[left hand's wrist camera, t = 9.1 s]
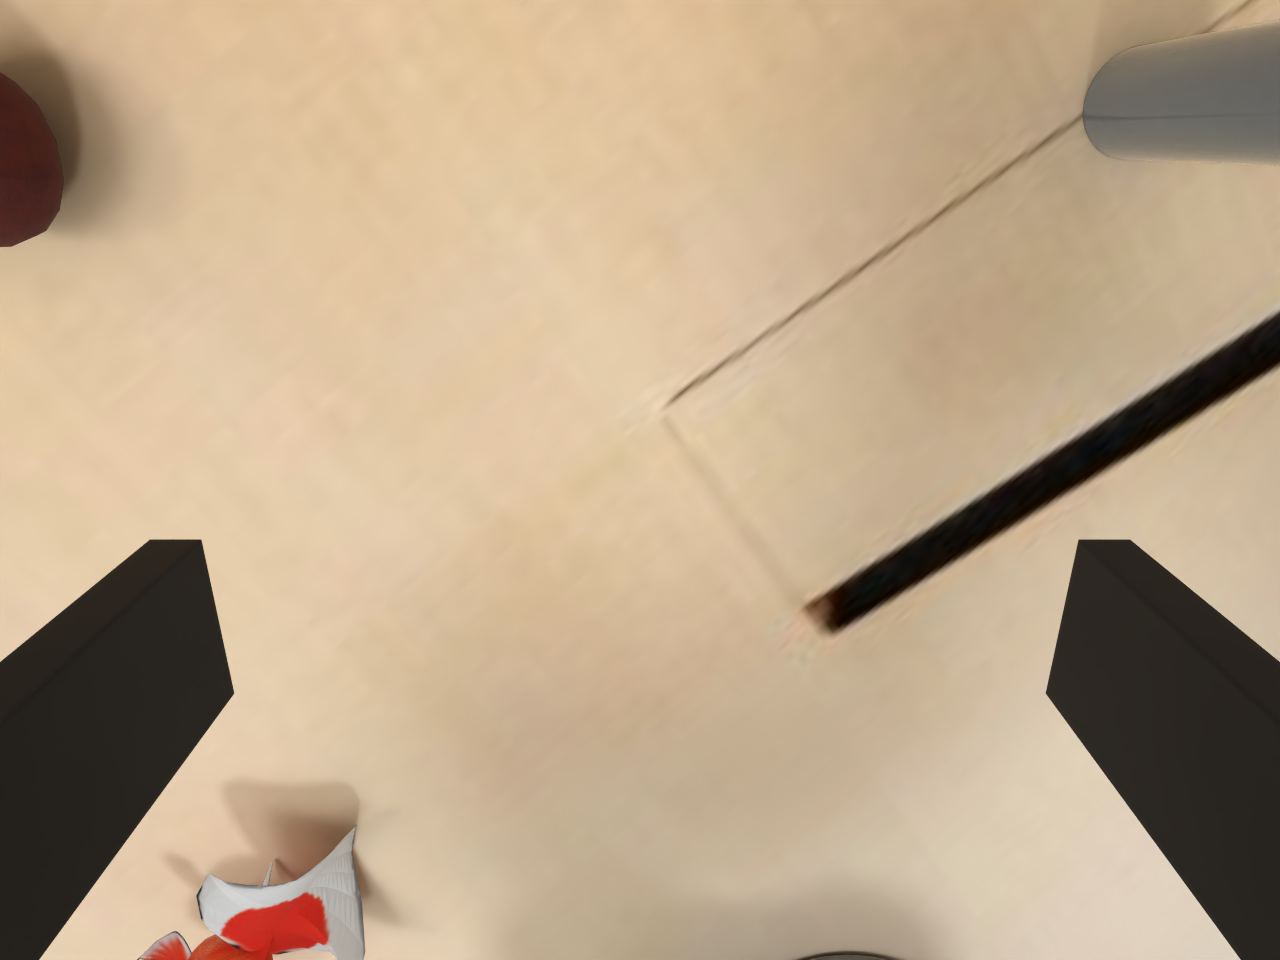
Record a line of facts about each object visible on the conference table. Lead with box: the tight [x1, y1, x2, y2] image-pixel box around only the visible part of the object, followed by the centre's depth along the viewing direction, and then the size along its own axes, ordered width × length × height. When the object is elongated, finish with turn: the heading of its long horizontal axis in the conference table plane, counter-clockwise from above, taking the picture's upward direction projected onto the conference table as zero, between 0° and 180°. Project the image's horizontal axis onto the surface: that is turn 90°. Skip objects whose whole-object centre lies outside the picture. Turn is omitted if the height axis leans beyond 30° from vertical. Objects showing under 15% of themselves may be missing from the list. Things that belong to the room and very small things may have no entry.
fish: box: [137, 826, 365, 960], centre depth 48 cm, size 11×16×10 cm
